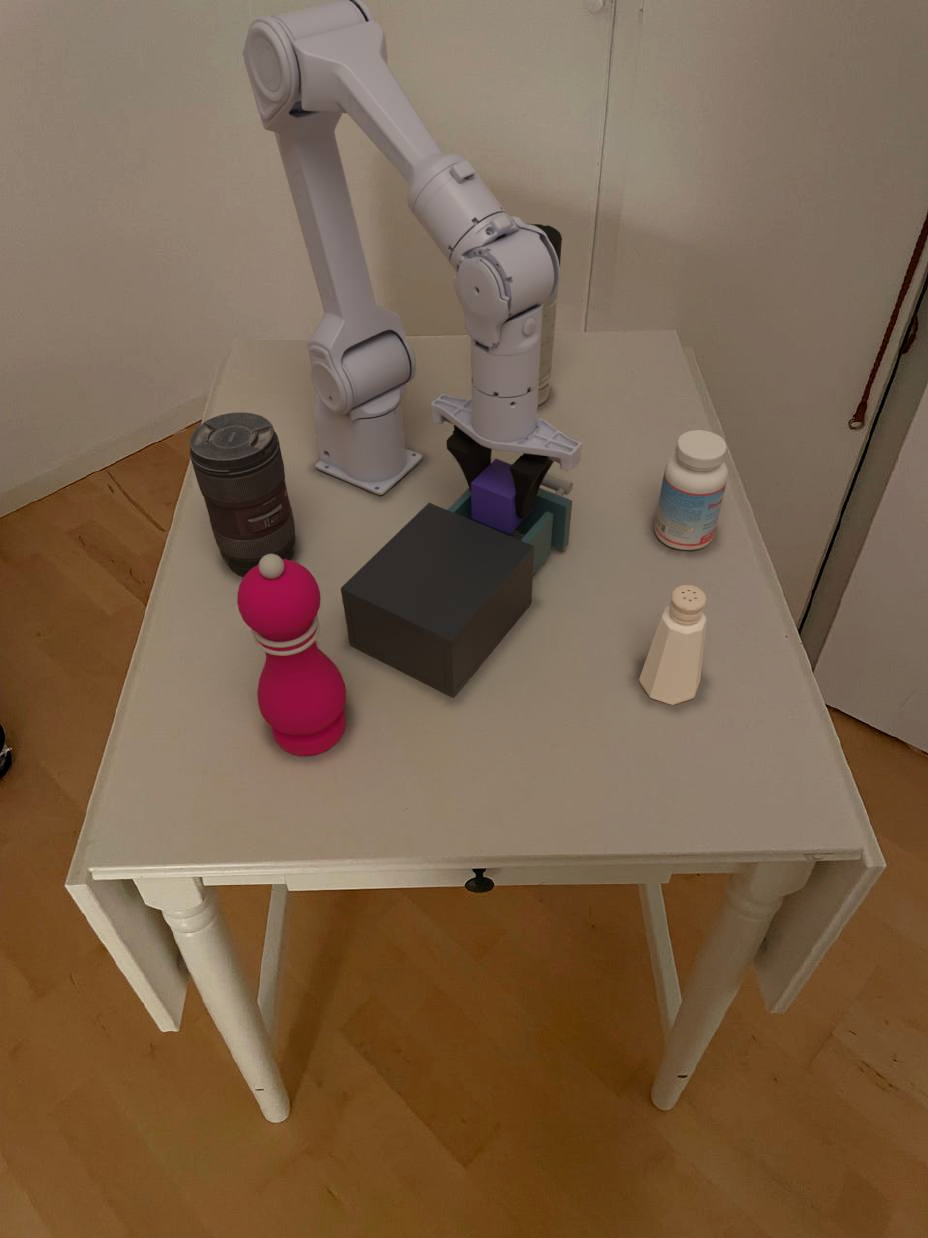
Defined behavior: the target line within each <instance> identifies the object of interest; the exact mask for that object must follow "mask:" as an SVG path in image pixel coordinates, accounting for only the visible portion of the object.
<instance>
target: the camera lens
mask: <svg viewBox="0 0 928 1238" xmlns="http://www.w3.org/2000/svg"><path fill="white" fill-rule="evenodd" d="M189 447H190V448H189V457H190V461H191V464H192V467H193V471H194V475H195V478H196V482H197V485H198V488H199V490H200V493H201V496H202V497H203V500H204V503H205V506H206V507H205V508H206V510H207V514H208V518H209V523H210V527H211V531H212V534H213V537H214V540H215V543H216V545H217V547H218V550H219V552H220V555H221V557H222V559H223V560H224V561H225V562H226V563H227V565H228V567H229V569H230V570H231V571H232V572H234V573H235V574H236V575H237V576H239V577H242V578H244V576H245V575H246V574H247V573H248V572H249V571H250V570H251V569H252V568H253V567H255V566H257V565H258V564H259V562H260V560H261V559H262V557H263V556H265V555H267V554H275V555H278V556H279V557H280V558H281V559H287V560H290V561H293V557H294V554H295V553H294V552H295V551H294V550H295V549H294V548H295V545H296V527H295V526H296V525H295V519H294V516H293V515H294V514H293V510H292V506H291V503H290V499H289V494H288V488H287V484H286V474H285V473H286V472H285V464H284V460H283V455H282V449H281V445H280V440H279V436H278V434H277V432H276V431H275V429H274V426H273V423H272V422H271V421H270V420H268V418H266V417H264V416H262V415H259V414H256V413H253V412H246V411H245V412H242V411H239V412H238V411H237V412H235V411H234V412H229V413H224V414H219V415H217V416H214V417H211V418H209V419H207V420H205V421H204V422H202V423H201V424H199V425H198V426H197V427H196V428H195V429H194V430H193V432H192V433H191V435H190V438H189Z"/></svg>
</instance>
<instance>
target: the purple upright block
mask: <svg viewBox="0 0 928 1238" xmlns="http://www.w3.org/2000/svg"><path fill="white" fill-rule="evenodd" d="M512 464H513V463H509V462H506V461H504V460H501V459H498V458H495V459H493V460H492V461H491V464H490V465H489V466H488V467H487V468H486V469H485V470H484V471H483V472H482V473H481V474H480V475H479V476H478V477H477V478H476V479H475V480H474V481H473V482H471V513H472V519H474V520H476V521H479V522H481V523H483V524H486V525H488V526H491V527H493V528H496V529H498V530H500V531H503V532H505V533H508V534H511V533H514V532H515V531H514V530H515V529H516V528H517V527H518V526H519V525H520V523H521V522H522V521H523V520H524V519H525V518H526V517H527V516H528V515H529V514H530V512H531V511H532V510H533V509H532V510H531V511H530V512H529V513H528V514H527V515H526V516H525V517H524V518H523V519H521V518H519V517H517V515H516V508H515V501H516V491H515V485H514V480H513V477H512V474H511V472H510V466H511V465H512ZM533 508H534V506H533Z"/></svg>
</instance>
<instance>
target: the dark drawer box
mask: <svg viewBox="0 0 928 1238" xmlns="http://www.w3.org/2000/svg"><path fill="white" fill-rule="evenodd" d="M533 561H534V546H533V545H530V544H528V543H526V542H523V541H521V540H518V539H516V538H514V537H511V536H509V535H506V534H504V533H502V532H499V531H497V530H494V529H492V528H489V527H487V526H485V525H482V524H480V523H477V522H475V521H473V520H470V519H468V518H465V517H463V516H461V515H458V514H456V513H453V512H451V511H449V510H447V509H446V508H444V507H441V506H439V505H436V504H434V503H431V502H428V503H427V504H426V505H425V506H423V508H421V509H420V511H418V513H416V514H415V515H414V516H413V517H412V518H411V519H410V520H409V521H408V522H407V523H406V524H405V525H404V526H403V527H402V528H401V529H400V530H399V531H398V532H397V533H396V534H395V535H393V536H392V537H391V538H390V539H389V541H387V543H385V545H383V546H382V547H381V548H379V550H378V551H377V552H376V553H375V554H374V555H373V556H371V558H370V559H369V560H368V561H367V562H365V564H363V566H362V567H361V568H360V569H359V570H357V571H356V573H354V574H353V575H352V576H351V578H349V580H347V581H346V582H345V583H344V584H343V585H342V586H341V587H340V593H341V599H342V605H343V612H344V617H345V618H344V619H345V623H346V629H347V636H348V642H349V646H351V647H352V648H354V649H356V650H358V651H360V652H362V653H363V654H366V655H368V656H370V657H372V658H374V659H375V660H378V661H381V662H382V663H383V664H385V665H388V666H390V667H391V668H393V669H395V670H398V671H400V672H402V673H403V674H405V675H407V676H409V677H411V678H413V679H416V680H417V681H419V682H421V683H423V684H425V685H427V686H428V687H431V688H433V689H435V690H437V691H439V692H441V693H443V694H444V695H447V696H449V697H450V698H452V699H454V698H455V697H456V696H457V695H458V693H459V692H460V691H461V690H462V689H463V688H464V686H465V685H466V684H467V683H468V682H469V681H470V679H471V678H472V677H473V675H474V674H475V673H476V672H477V670H478V669H479V668H480V667H481V666H482V664H483V663H485V661H486V659H487V658H488V657H489V656H490V655H491V654H492V652H493V651H494V650H495V649H496V647H497V646H498V645H499V644H500V642H501V641H503V639H504V638H505V637H506V636H507V634H508V633H509V632H510V631H511V630H512V628H513V627H514V626H515V624H516V623H517V622H518V621H519V619H520V618H521V617H522V616H523V615H524V613H526V611H527V610H528V609H529V607H530V606H531V605H532V599H533V598H532V595H533V579H534V576H533V575H534V574H533Z"/></svg>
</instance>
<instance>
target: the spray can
mask: <svg viewBox="0 0 928 1238" xmlns="http://www.w3.org/2000/svg"><path fill="white" fill-rule="evenodd" d="M529 224H530V225H534V226H536V227H538V228H540V229H541V230H542V231H544V232H545V233H546V235H547V237H548V239H549V241H550V242H551V244H552V246H553V247H554V249H555V252H556V254H557V257H558V261H559V266H560V267H561V258H562V244H563V237H562V234H561V231H559V230H558V229H557V228H555V227H553V226H552V225H543V224H542V223H541V224H540V223H529ZM559 284H560V283H559ZM559 284H558V287H557V289H556V291H555V293H554V294H553V295H552V296H550V297H549V298H547V299H546V300H545V301H543V302H541V303H539V304H542V305H543V307H542V327H541V347H540V367H539V387H538V407H541V405H543V404H545V402H546V401H547V400H548V397H549V395H550V388H551V377H552V366H553V356H554V355H553V353H554V342H555V332H556V319H557V310H558V309H557V308H558V307H557V306H558V296H559Z"/></svg>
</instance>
